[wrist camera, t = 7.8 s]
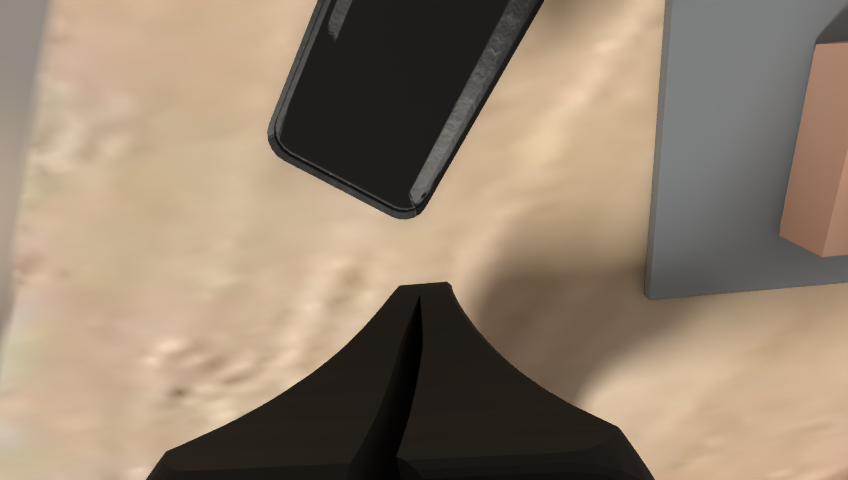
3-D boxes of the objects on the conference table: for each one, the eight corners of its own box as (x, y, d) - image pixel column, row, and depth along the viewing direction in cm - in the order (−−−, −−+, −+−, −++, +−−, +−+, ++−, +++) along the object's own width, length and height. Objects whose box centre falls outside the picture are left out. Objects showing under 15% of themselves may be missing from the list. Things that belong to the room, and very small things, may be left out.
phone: (613, -120, 15) (413, 228, 20) (602, -109, 16) (414, 220, 21) (416, -261, 14) (256, 146, 19) (418, -239, 15) (266, 142, 20)
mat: (920, 269, 21) (933, 275, 20) (644, 294, 22) (649, 299, 22) (1034, -73, 16) (1056, -78, 15) (666, -19, 17) (674, -22, 16)
